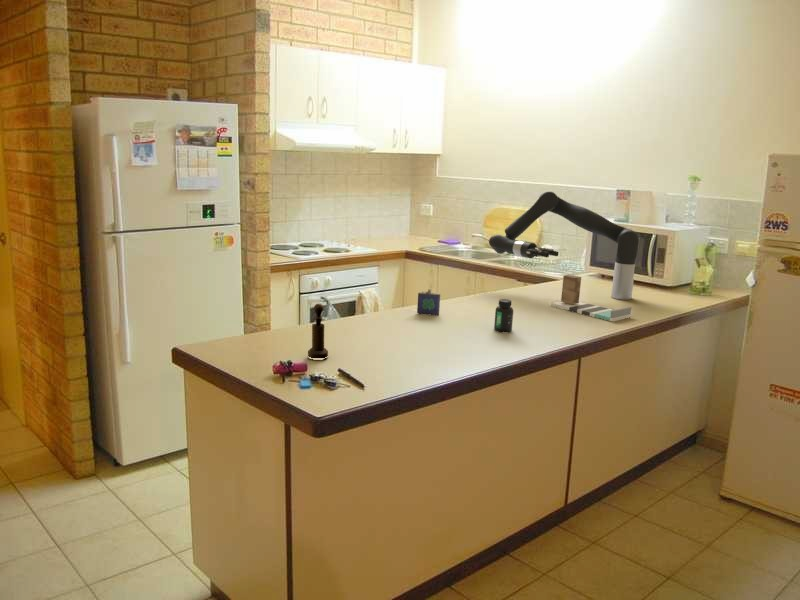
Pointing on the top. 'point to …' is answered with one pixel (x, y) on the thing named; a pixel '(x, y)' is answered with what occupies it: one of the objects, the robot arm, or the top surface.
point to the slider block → (571, 289)
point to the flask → (428, 303)
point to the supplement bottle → (503, 316)
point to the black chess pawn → (318, 336)
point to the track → (595, 310)
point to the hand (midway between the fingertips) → (553, 254)
